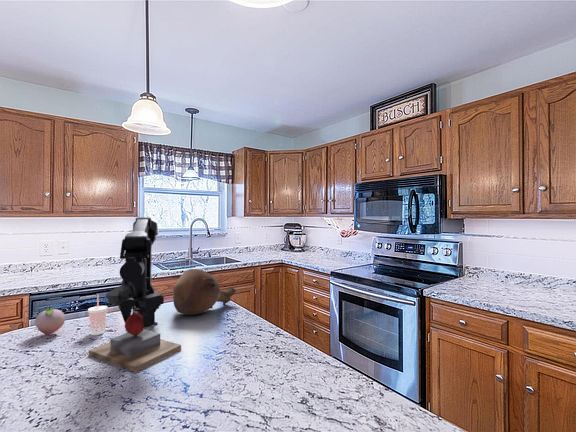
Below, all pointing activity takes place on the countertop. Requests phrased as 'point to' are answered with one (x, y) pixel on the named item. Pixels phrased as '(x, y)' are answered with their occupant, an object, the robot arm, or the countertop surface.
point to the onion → (134, 324)
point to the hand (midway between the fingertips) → (136, 325)
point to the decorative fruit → (50, 321)
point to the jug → (198, 292)
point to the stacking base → (136, 359)
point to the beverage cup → (97, 318)
